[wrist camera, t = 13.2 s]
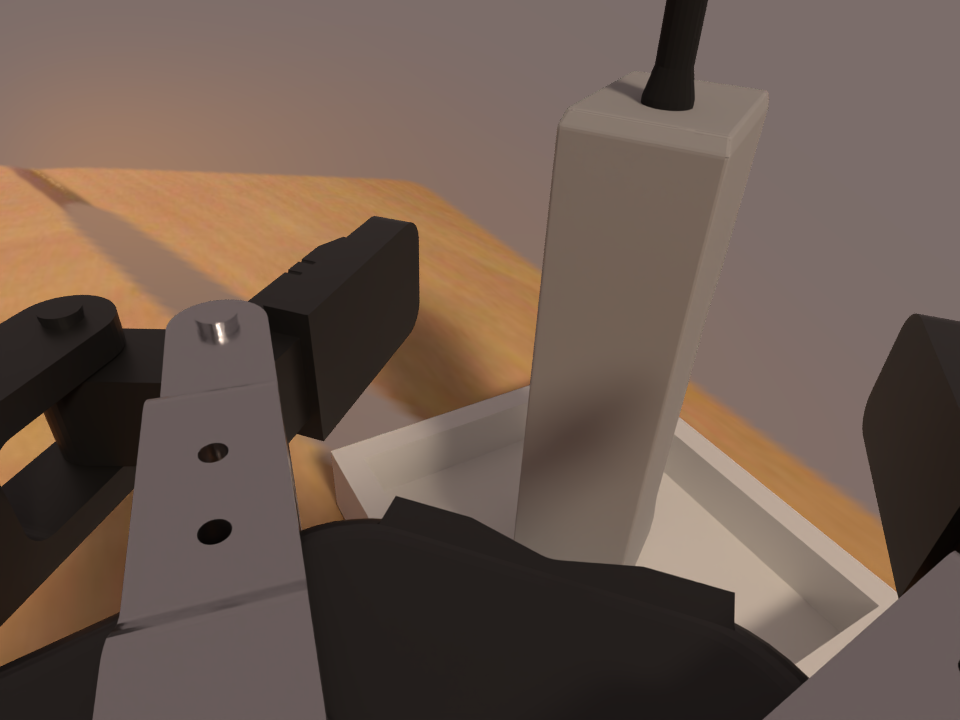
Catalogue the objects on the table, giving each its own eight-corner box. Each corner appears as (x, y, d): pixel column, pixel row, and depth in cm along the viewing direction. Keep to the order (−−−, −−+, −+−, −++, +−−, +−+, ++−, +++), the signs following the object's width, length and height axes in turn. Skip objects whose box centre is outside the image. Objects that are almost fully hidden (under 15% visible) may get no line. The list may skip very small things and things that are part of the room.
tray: (560, 922, 17) (574, 878, 15) (336, 503, 28) (330, 450, 26) (889, 668, 23) (927, 616, 21) (598, 407, 34) (607, 359, 32)
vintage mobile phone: (648, 536, 26) (909, -396, 12) (606, 636, 23) (908, -532, 8) (560, 499, 28) (700, -374, 13) (507, 588, 24) (620, -483, 10)
